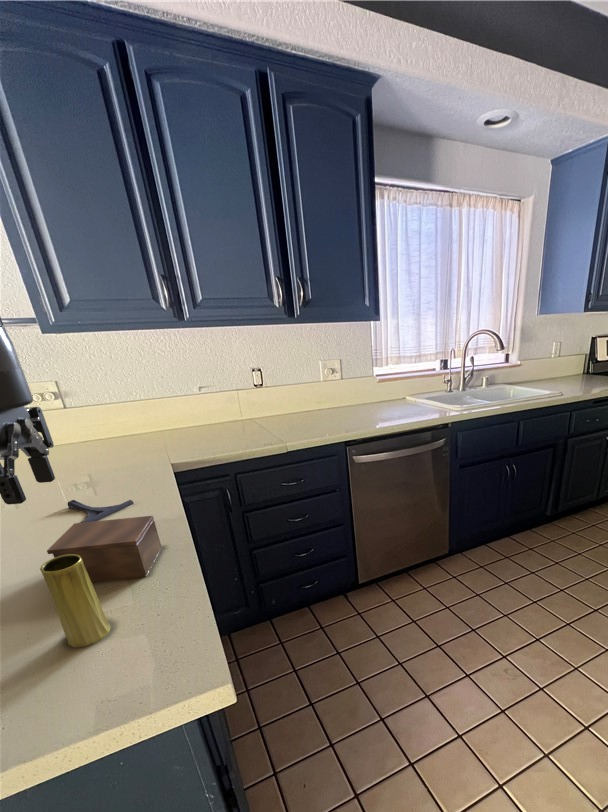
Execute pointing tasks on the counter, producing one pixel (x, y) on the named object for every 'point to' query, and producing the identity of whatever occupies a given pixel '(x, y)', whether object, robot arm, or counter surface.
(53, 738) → the counter surface
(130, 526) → the lid
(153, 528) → the chest
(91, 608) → the vase
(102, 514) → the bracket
